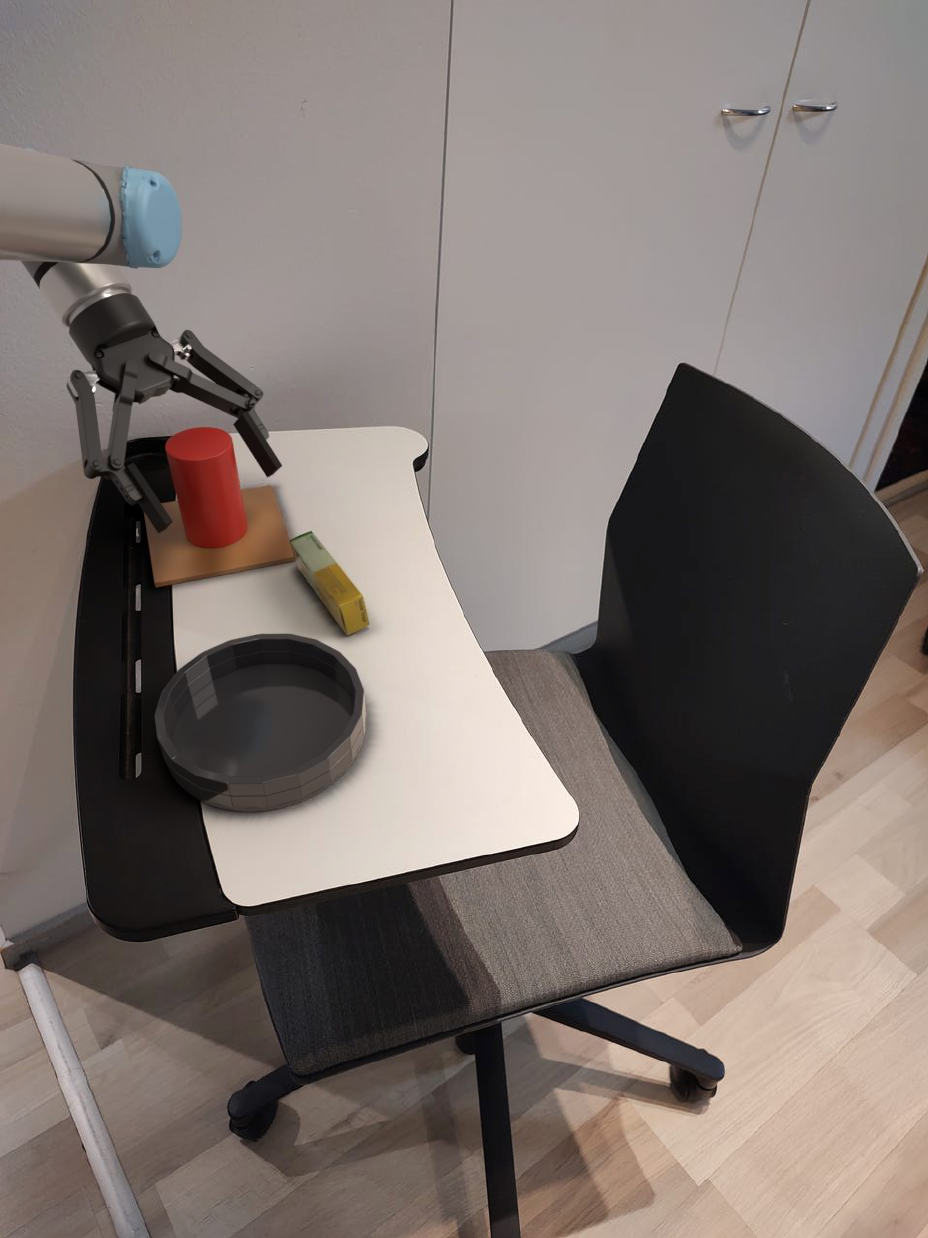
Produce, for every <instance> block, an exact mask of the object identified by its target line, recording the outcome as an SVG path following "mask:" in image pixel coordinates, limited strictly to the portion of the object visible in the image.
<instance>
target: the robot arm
mask: <svg viewBox="0 0 928 1238" xmlns="http://www.w3.org/2000/svg"><path fill="white" fill-rule="evenodd" d="M180 204H181V203H180V201H179V198H178V194H177V193H176V190H175V189H174V187H173V185H172V184H171V182H170V181H169V180H168V179H167V178H166V177H165V176H164V175H163V174H161V173H159V172H157V171H153V170H149V169H148V170H147V169H140V168H135V167H133V166H130V165H125V166H123V167H122V166H112V165H104V164H97V163H93V162H87V161H84V160H79V159H73V158H72V159H71V158H68V157H67V156H61V155H57V154H52V153H47V152H42V151H38V150H36V149H34V148H30V147H20V146H14V145H10V144H5V143H0V261H13V262H14V261H17V262H21V263H22V265H23V266H24V268H25V269H26V271H27V272H28V274H29V275H30V277H31V278H32V279H33V281H34V282H35V284H36V286H37V287H38V289H39V291H40V293H42V295H43V297H44V298H45V299H46V301H47V303H48V304H49V306H50V308H51V309H52V310H53V312H54V313H55V314H56V317H57V318H58V320H59V321H60V322H61V324H62V325H63V326H64V327H66V328H68V329H69V330H68V334H69V337H70V338H71V339H72V341H73V343H74V344H75V345H76V347H77V349H78V350H79V351H80V353H81V355H82V357H84V360H85V361H86V362H87V363H88V364H89V365H90V366H91V369H92V370H89V371H85V372H83V371H82V370H80V369H74V370H72V372H71V373H70V376H69V378H68V380H67V381H66V389H67V391H68V393H69V395H70V397H71V400H72V401H73V403H74V405H75V413H76V421H77V429H78V436H79V437H78V438H79V444H80V453H81V460H82V467H83V468H82V469H83V474H84V477H86V478H87V479H90V480H94V479H96V478H99V477H100V478H101V477H103V478H104V479H106V480H107V481H112V482H113V483H114V485H115V486H116V488H117V489H118V491H119V493H120V494H121V495H122V497H123V498H124V500H125V501H126V502H127V504H129V505H130V506H134V505H136V504H138V505H139V507H140V509H141V510H142V511H143V514H144V513H145V514H146V516H147V517H148V519H149V520H150V522H151V523H152V525H153V526H154V528H155V529H156V531H157V532H158V534H159V533H160V532H162V531H164V530H166V529H167V527H168V526H169V525H170V524H171V523H172V522H173V521H172V520H171V518H170V516H169V515H168V513H167V512H166V510H165V509H164V507H163V506H162V504H161V503H162V502H161V501H160V499H159V498H158V497H157V495H156V494H155V492H154V491H153V489H152V488H151V486H150V485H149V483H148V482H147V479H145V477H144V476H143V474H142V473H141V471H140V469H139V468H138V467H137V465H136V464H135V462H132V463H130V464H127V465H126V466H125V459H126V453H127V444H128V436H129V429H130V423H131V416H132V408H133V404H134V403H137V404H138V405H141V404H143V403H146V402H147V401H149V400H150V399H151V398H156V397H161V396H164V395H166V394H167V392H168V391H172V392H174V393H177V394H184V395H186V396H187V397H191V398H193V399H195V400H197V401H199V402H202V403H204V404H206V405H208V406H210V407H211V408H214V409H217V410H219V411H221V412H223V413H224V414H225V413H226V414H228V415H230V416H232V417H234V418H236V420H235V421H234V423H233V427H234V428H235V430H236V431H237V433H238V435H239V436H240V438H241V439H242V441H243V442H244V444H245V445H246V447H247V449H248V450H249V452H250V453H251V455H252V456H253V458H254V460H255V461H256V462H257V464H258V466H259V467H260V469H261V470H262V472H263V473H264V475H265V477H266V478H269V477H272V476H273V475H274V474H276V472H277V471H279V470H280V468H281V469H282V467H283V464H282V463H281V461H280V460H279V458H278V456H277V455H276V453H275V451H274V450H273V449H272V446H271V445H270V443H269V442H268V439H269V438H270V434H269V431H268V429H267V427H266V426H265V425H264V423H263V422H262V420H261V419H260V417H259V415H258V413H257V412H256V410H255V409H256V405H257V404H258V403H259V402H260V401H261V400H262V398H263V397H264V392H263V389H261V388H260V387H259V386H257V385H256V384H255V383H253V382H252V381H251V380H249V379H248V378H247V377H245V376H244V375H243V374H241V373H240V372H239V371H237V370H236V369H234V367H232V366H230V365H229V364H228V363H226V362H225V361H224V360H222V359H221V358H220V357H219V356H217V355H216V354H215V353H213V352H212V351H210V350H209V349H208V348H207V347H205V346H204V345H203V343H202V342H201V340H199V339H198V337H197V336H196V334H195V333H194V332H193V331H192V330H190V329H185V330H184V331H182V332H181V335H180V336H179V337H177V338H176V339H173V340H172V341H170V342H169V341H167V340H166V339H164V338H163V336H161V334H160V333H159V330H158V328H157V326H156V323H155V322H154V320H153V318H152V317H151V315H150V314H149V312H148V311H147V309H146V308H145V306H144V305H143V303H142V301H141V300H140V298H139V297H138V295H135V294H132V292H133V288H132V286H131V284H130V282H129V281H128V279H127V277H126V276H125V274H124V273H123V272H122V270H121V269H120V267H127V268H130V269H136V270H137V269H139V268H145V269H147V268H148V269H162V268H165V267H166V266H168V265H170V264H171V262H172V261H173V260H174V259H175V258H176V257H177V254H178V252H179V249H180V246H181V241H182V235H183V229H182V227H183V225H182V224H183V223H182V221H183V220H182V210H181V205H180ZM176 356H178V357H179V359H180V360H181V361H186V362H187V363H188V364H189V365H190V366H192V367H193V368H194V369H195V370H197V371H198V372H200V373H201V374H202V375H203V376H205V377H206V378H204V377H203V376H200V375H198V374H197V373H194V372H193V371H192V369H191V368H190V367H188V366H186V365H183V364H181V363H180V362H177V361H176ZM207 378H208V379H207ZM97 385H98V386H100V387H101V388H103V389H105V390H107V391H109V392H111V393H112V394H114V397H113V403H112V416H111V417H112V418H111V423H110V424H111V425H110V429H109V438H108V444H107V445H108V446H107V450H106V451H107V452H106V457H105V458H103V453H102V445H101V438H100V437H101V436H100V430H99V421H98V413H97V406H96V399H95V393H96V391H97Z"/></svg>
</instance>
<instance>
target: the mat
mask: <svg viewBox="0 0 928 1238" xmlns="http://www.w3.org/2000/svg"><path fill="white" fill-rule="evenodd" d="M241 492H242V498H243V504H244V510H245V516H246V521H247V531H246V533H245V535H244V536H243V537H242V538H241V539H240V540H238V541H237V542H235V543H233V544H230V545H228V546H224V547H219V548H203V547H199V546H196V545H194V544H192V543H191V542H189V540H188V539H187V538H186V535H185V531H184V526H183V522H182V518H181V513H180V509H179V505H178V501H177V500H173V501H168V502H160V503H161V504H162V506H163V507H164V509H165V510H166V512H167V513H168V515H169V516H170V518H171V520H172V521H173V522H172V523H171V524H170V525H169V526H168V527H167V529H166V530H164V531H162V532H160V533H159V534H158V532H157V531H156V529H155V528H154V526H153V525H152V523H151V522H150V520H149V519H148V517H147V516H146V514H145V513H144V512H143V515H144V522H145V529H146V535H147V543H148V550H149V557H150V562H151V563H150V564H151V569H152V576H153V577H152V578H153V582H154V583H153V584H154V586H155V588H161V587H166V586H172V585H175V584H176V585H177V584H182V583H187V582H193V581H197V580H203V579H208V578H213V577H219V576H223V575H229V574H234V573H239V572H244V571H250V570H254V569H259V568H265V567H271V566H276V565H281V564H286V563H291V562H296V560H295V557H294V554H293V551H292V547H291V544H290V540H291V539H290V535H289V533H288V530H287V527H286V523H285V521H284V519H283V515H282V513H281V510H280V506H279V504H278V501H277V498H276V496H275V493H274V489H273V487H272V485H270V484H269V485H268V484H267V485H264V486H257V487H251V488H245V489H241Z"/></svg>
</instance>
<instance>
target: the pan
mask: <svg viewBox="0 0 928 1238" xmlns="http://www.w3.org/2000/svg"><path fill="white" fill-rule="evenodd" d="M366 710H367V709H366V699H365V689H364V687H363V683H362V681H361V678H360V676H359V673H358V671H357V668H356V667H355V666H354V665H353V664H352V663H351V662H350V660H349V659H348V658H347V657H345V655H344V654H343V653H342V652H341V651H339V650H337V649H336V648H333V647H332V646H330V645H328V644H326V643H324V642H322V641H320V640H319V639H315V638H312V637H306V636H302V635H297V634H294V633H257V634H252V635H251V634H250V635H246V636H243V637H238V638H234V639H230V640H226V641H223V642H222V643H220V644H217V645H216V646H213V647H211V648H208V649H205V650H204V651H202V652H200V653H199V654H197V655H196V656H195V657H194V658H192V659H191V660H189V661H188V662H187V663H185V664H184V665H183V666H181V667H180V668H179V669H178V670H177V671H176V672H175V674H174V675H173V676H172V678H171V679H170V680H169V681H168V683H167V684H166V686H165V687H164V688H163V689H162V691H161V694H160V697H159V700H158V703H157V706H156V709H155V713H154V722H155V723H154V724H155V730H156V731H155V732H156V738H157V742H158V744H159V747H160V751H161V755H162V757H163V761H164V764H165V765H166V766H167V769H168V770H169V772H170V774H171V776H172V777H173V779H174V781H175V782H176V783H177V784H178V785H179V786H180V787H181V788H182V789H183V790H184V791H185V792H186V793H188V794H189V795H190V796H191V797H193V798H194V799H196V800H198V801H200V802H202V803H203V804H207V805H209V806H212V807H215V808H219V809H223V810H227V811H234V812H242V813H257V812H268V811H274V810H275V811H276V810H279V809H284V808H288V807H291V806H294V805H296V804H300V803H302V802H304V801H305V802H306V801H307V800H309V799H312V798H314V797H315V796H317V795H319V794H321V793H322V792H323V791H325V790H327V789H329V787H331V786H332V785H334V784H335V783H337V781H338V780H339V779H341V778H342V776H343V775H344V774H345V773H346V772H347V771H348V770H349V769H350V767H352V765H353V763H354V762H355V760H356V759H357V757H358V756H359V753H360V751H361V748H362V746H363V744H364V739H365V736H366V718H367V711H366Z"/></svg>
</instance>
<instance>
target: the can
mask: <svg viewBox="0 0 928 1238" xmlns="http://www.w3.org/2000/svg"><path fill="white" fill-rule="evenodd" d="M165 453H166V456H167V462H168V465H169V470H170V475H171V479H172V484H173V489H174V491H175V496H176V501H178V505H179V509H180V513H181V518H182V522H183V526H184V531H185V535H186V538H187V539H188V540H189V542H191V543H192V544H194V545H196V546H199V547H203V548H219V547H224V546H228V545H230V544H233V543H235V542H237V541H238V540H240V539H241V538H242V537H243V536H244V535H245V533H246V531H247V521H246V516H245V510H244V504H243V498H242V492H241V490H242V488H241V482H240V475H239V470H238V465H237V458H236V453H235V446H234V442H233V438H232V435H230V433H229V432H227V431H225V430H224V429H222V428H217V427H212V426H198V427H192V428H187V429H183V430H181V431H179V432H176V433H174V434H173V435H172V436H171V437H169V438H168V440H167V441H166V443H165Z"/></svg>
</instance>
